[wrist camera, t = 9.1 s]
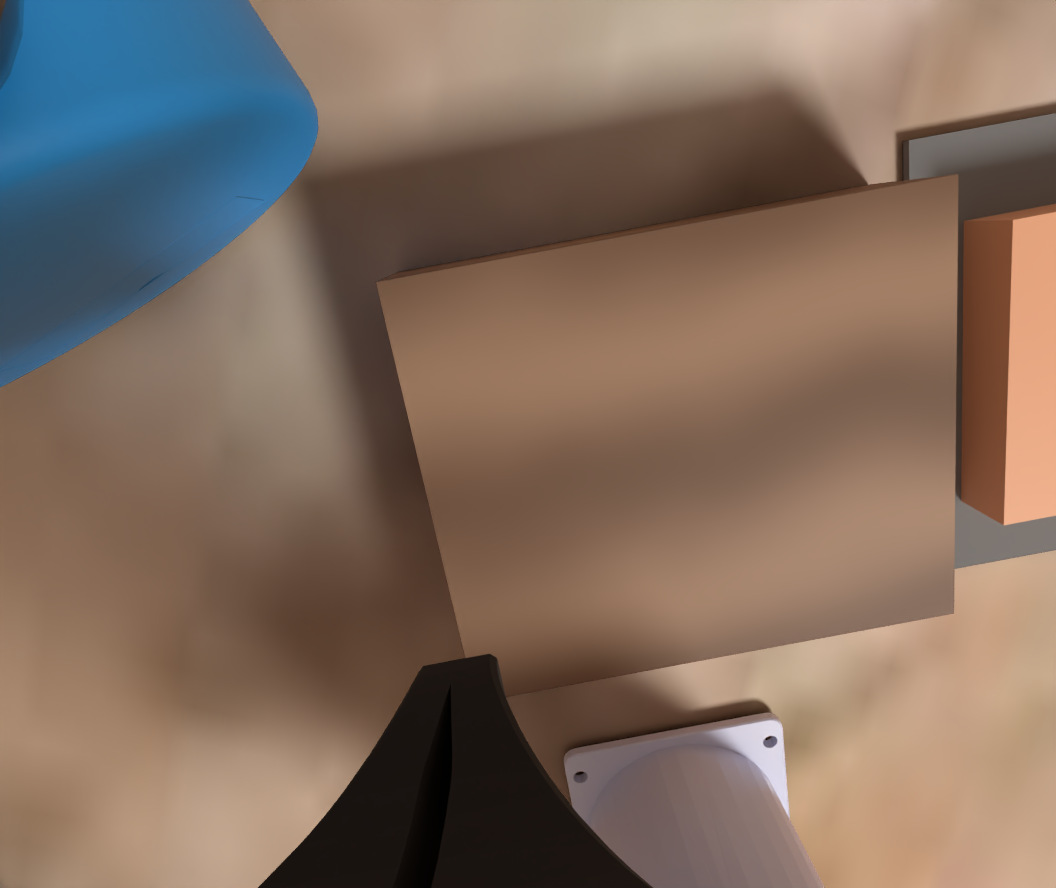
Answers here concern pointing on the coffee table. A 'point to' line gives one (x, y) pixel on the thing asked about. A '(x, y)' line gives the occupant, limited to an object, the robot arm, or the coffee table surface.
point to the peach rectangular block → (1009, 365)
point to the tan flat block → (690, 431)
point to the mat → (983, 190)
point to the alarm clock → (131, 156)
